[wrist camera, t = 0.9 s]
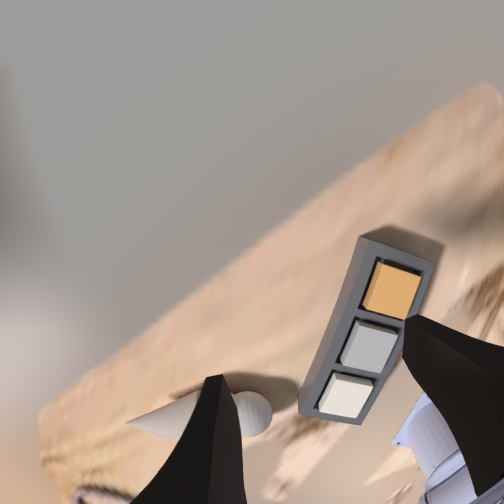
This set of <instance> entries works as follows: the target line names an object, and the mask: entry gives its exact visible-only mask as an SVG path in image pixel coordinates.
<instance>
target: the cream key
mask: <svg viewBox="0 0 504 504" xmlns="http://www.w3.org/2000/svg"><path fill="white" fill-rule="evenodd" d="M372 389H373V385H372V383H371V381H370V380H368V379H363V378H358V377H353V376H348V375H344V374H339V373H335V372H334V373H333V375H332V377H331V380H330V382H329V384H328V386H327V388H326V390H325V392H324V394H323V396H322V398H321V400H320V402H319V404H318V405H319V411H320V412H323V413H328V414H334V415H339V416H345V417H351V418H356V417H357V416H358V414H359V412H360V411H361V409H362V407H363V405H364V403H365V402H366V400H367V398H368V396H369V394H370V393H371V391H372Z"/></svg>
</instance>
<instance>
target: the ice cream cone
mask: <svg viewBox="0 0 504 504" xmlns="http://www.w3.org/2000/svg"><path fill="white" fill-rule="evenodd" d="M200 392H201V391H200V390H197V391H195V392H193V393H191V394H189V395H186V396H184V397H182V398H180V399H178V400H176V401H174V402H172V403H169V404H167V405H165V406H163V407H161V408H158V409H156V410H154V411H152V412H149V413H147V414H145V415H142V416H140V417H138V418H135V419H133V420H131V421H128V422H126V423H123V424H126V425H129V426H131V427H134V428H137V429H140V430H143V431H146V432H149V433H152V434H155V435H158V436H161V437H164V438H167V439H171V440H174V441H179V439H180V437H181V435H182V433H183V431H184V429H185V427H186V425H187V423H188V421H189V419H190V417H191V414H192V412H193V410H194V408H195V405H196V403H197V400H198V398H199V395H200ZM231 395H232V398H233V400H234V402H235V404H236V407H237V410H238V416H239V421H240V428H241V437H242V436H244V437H253V436H257V435H259V434H261V433H262V432H264V431H265V430H266V429H267V428H268V427H269V425H270V423H271V420H272V415H273V414H272V408H271V405H270V403H269V402H268V400H267V399H266V398H265V397H263V396H262V395H260V394H258V393H256V392H251V391H244V392H240V393H237V394H235V395H234V394H232V393H231Z"/></svg>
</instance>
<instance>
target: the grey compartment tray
mask: <svg viewBox="0 0 504 504" xmlns="http://www.w3.org/2000/svg"><path fill="white" fill-rule="evenodd" d="M378 262H381V263H384V264H387V265H390V266H393V267H396V268H399V269H402V270H404V271H407V272H410V273H413V274H416V275H418V276H420V277H421V279H420V282H419V285H418V287H417V290H416V293H415V296H414V298H413V301H412V303H411V306H410V309H409V311H408V314H407V316H406V318H409V317H411V316H414V315H416V314H417V312H418V310H419V307H420V304H421V302H422V299H423V297H424V294H425V291H426V289H427V286H428V283H429V280H430V277H431V274H432V271H433V268H434V265H435V263H433V262H431V261H428V260H425V259H423V258H420V257H417V256H415V255H412V254H409V253H406V252H404V251H401V250H398V249H395V248H392V247H390V246H387V245H384V244H381V243H378V242H375V241H372V240H369V239H367V238H364V237H361V236H359V238H358V241H357V244H356V247H355V250H354V253H353V256H352V259H351V262H350V265H349V268H348V271H347V274H346V277H345V280H344V283H343V286H342V288H341V291H340V294H339V297H338V299H337V302H336V305H335V308H334V310H333V313H332V315H331V318H330V321H329V323H328V326H327V328H326V331H325V333H324V336H323V338H322V341H321V343H320V346H319V348H318V351H317V353H316V355H315V358H314V360H313V362H312V365H311V367H310V369H309V372H308V374H307V376H306V379H305V381H304V383H303V385H302V387H301V390H300V392H299V394H298V396H297V398H298V413H299V414H300V415H304V416H309V417H314V418H319V419H324V420H330V421H336V422H342V423H348V424H354V425H361V424H362V422H363V421H364V419H365V417H366V416H367V414H368V412H369V411H370V409H371V407H372V405H373V404H374V402H375V400H376V398H377V396H378V395H379V393H380V391H381V389H382V387H383V385H384V383H385V382H386V380H387V378H388V376H389V374H390V372H391V370H392V368H393V366H394V364H395V362H396V360H397V358H398V355H399V353H400V351H401V349H402V347H403V341H404V325H405V320H404V319H400V318H396V317H393V316H389V315H386V314H382V313H379V312H375V311H371V310H368V309H366V308H365V307H364V306H363V302H364V299H365V297H366V294H367V291H368V288H369V286H370V283H371V280H372V277H373V274H374V272H375V269H376V266H377V263H378ZM406 318H405V319H406ZM356 320H357V321H361V322H364V323H368V324H372V325H375V326H379V327H383V328H387V329H391V330H394V331H395V333H396V334H397V335H398V337H397V339H396V342H395V344H394V346H393V348H392V350H391V353H390V355H389V357H388V359H387V361H386V363H385V365H384V367H383V369H382V371H381V373H376V372H371V371H366V370H362V369H357V368H353V367H348V366H344V365H342V362H341V360H340V358H341V356H342V353H343V351H344V349H345V346H346V344H347V342H348V339H349V337H350V335H351V332H352V330H353V327H354V325H355V322H356ZM334 372H335V373H339V374H344V375H348V376H353V377H358V378H363V379H368V380H370V381H371V383H372V385H373V389H372V391H371V393H370V394H369V396H368V398H367V400H366V402H365V403H364V405H363V407H362V409H361V411H360V412H359V414H358V416H357V417H356V418H351V417H345V416H339V415H334V414H328V413H323V412H320V411H319V405H318V404H319V402H320V400H321V398H322V396H323V394H324V392H325V390H326V388H327V386H328V384H329V382H330V380H331V377H332V375H333V373H334Z"/></svg>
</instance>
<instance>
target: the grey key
mask: <svg viewBox="0 0 504 504" xmlns="http://www.w3.org/2000/svg"><path fill="white" fill-rule="evenodd" d="M397 337H398V335H397V334H396V333H395V331H394V330H391V329H387V328H383V327H379V326H375V325H372V324H368V323H364V322H361V321H357V320H356V322H355V325H354V327H353V330H352V332H351V335H350V337H349V339H348V342H347V344H346V346H345V349H344V351H343V353H342V356H341V358H340V360H341V362H342V365H344V366H348V367H353V368H357V369H362V370H366V371H371V372H376V373H381V371H382V369H383V367H384V365H385V363H386V361H387V359H388V357H389V355H390V353H391V350H392V348H393V346H394V344H395V342H396V339H397Z"/></svg>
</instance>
